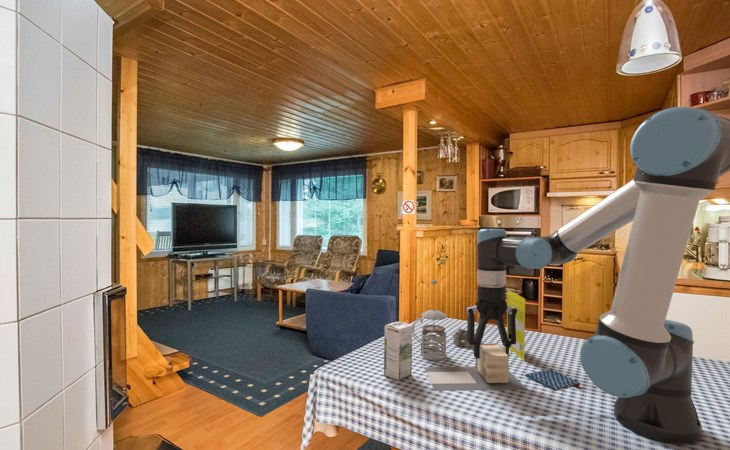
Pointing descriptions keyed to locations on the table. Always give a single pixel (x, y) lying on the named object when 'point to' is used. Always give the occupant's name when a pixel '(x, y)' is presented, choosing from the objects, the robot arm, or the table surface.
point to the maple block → (494, 364)
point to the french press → (433, 351)
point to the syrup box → (398, 350)
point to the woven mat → (552, 379)
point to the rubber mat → (467, 380)
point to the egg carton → (461, 334)
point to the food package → (517, 322)
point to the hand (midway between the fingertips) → (491, 369)
